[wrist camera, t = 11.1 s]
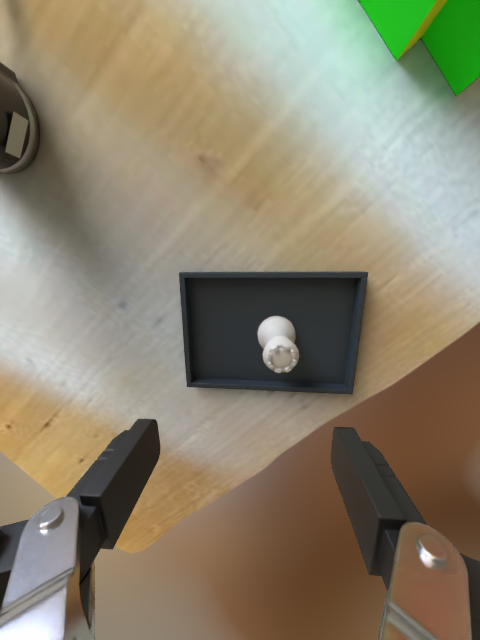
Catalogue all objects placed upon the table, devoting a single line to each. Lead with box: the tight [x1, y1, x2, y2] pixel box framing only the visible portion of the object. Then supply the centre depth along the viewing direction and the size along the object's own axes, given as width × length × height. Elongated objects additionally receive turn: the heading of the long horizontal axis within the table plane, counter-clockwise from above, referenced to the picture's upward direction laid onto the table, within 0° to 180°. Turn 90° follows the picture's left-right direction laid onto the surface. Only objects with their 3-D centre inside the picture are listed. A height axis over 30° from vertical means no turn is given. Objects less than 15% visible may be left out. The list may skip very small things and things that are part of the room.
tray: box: [179, 272, 368, 394], centre depth 27 cm, size 14×20×2 cm
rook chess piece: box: [257, 316, 299, 373], centre depth 23 cm, size 4×4×8 cm
